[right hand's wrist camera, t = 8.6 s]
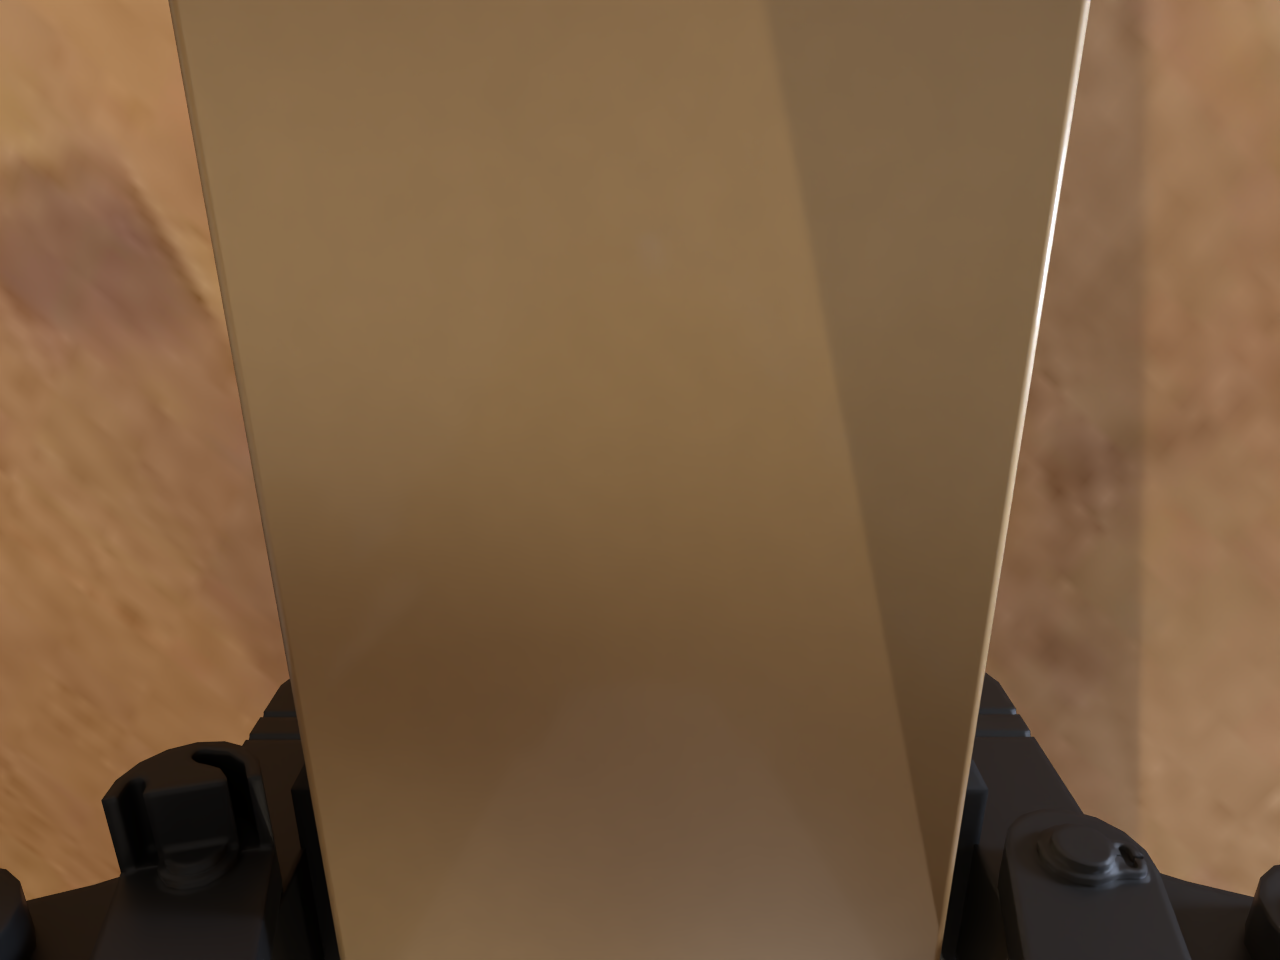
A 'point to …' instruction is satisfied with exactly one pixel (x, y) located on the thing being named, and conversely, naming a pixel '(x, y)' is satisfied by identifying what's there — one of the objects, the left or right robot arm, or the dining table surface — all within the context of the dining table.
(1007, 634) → the dining table surface
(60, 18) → the dining table surface
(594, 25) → the bar
